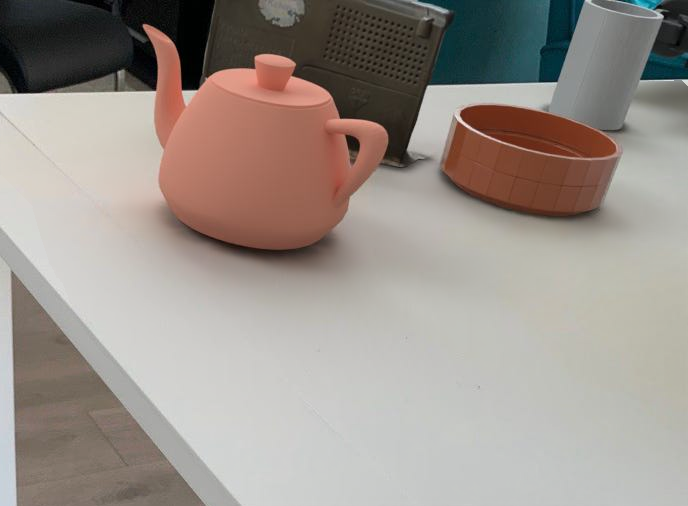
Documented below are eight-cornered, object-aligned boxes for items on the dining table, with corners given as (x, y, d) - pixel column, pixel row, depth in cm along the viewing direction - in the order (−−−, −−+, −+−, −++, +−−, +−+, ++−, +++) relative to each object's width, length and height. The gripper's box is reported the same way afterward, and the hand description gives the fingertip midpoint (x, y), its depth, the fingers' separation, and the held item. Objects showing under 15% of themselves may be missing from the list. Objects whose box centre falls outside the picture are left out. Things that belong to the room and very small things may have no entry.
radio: (427, 158, 105) (471, -9, 95) (411, 181, 98) (457, 4, 89) (214, 104, 108) (236, -62, 99) (186, 123, 102) (206, -53, 92)
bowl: (615, 194, 105) (638, 137, 101) (577, 235, 93) (601, 172, 90) (467, 149, 109) (484, 93, 106) (414, 182, 98) (430, 121, 94)
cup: (534, 109, 127) (570, -2, 119) (574, 103, 132) (610, -3, 124) (596, 133, 122) (638, 19, 114) (635, 126, 127) (677, 17, 119)
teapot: (77, 199, 83) (86, 28, 75) (180, 163, 93) (198, 9, 85) (313, 291, 75) (352, 113, 67) (397, 241, 86) (439, 80, 78)
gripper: (756, 78, 140) (723, 102, 126) (584, 31, 149) (534, 48, 135) (784, 17, 135) (752, 34, 121) (604, -29, 144) (555, -18, 130)
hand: (638, 41), depth 128 cm, fingers open, 13 cm apart
